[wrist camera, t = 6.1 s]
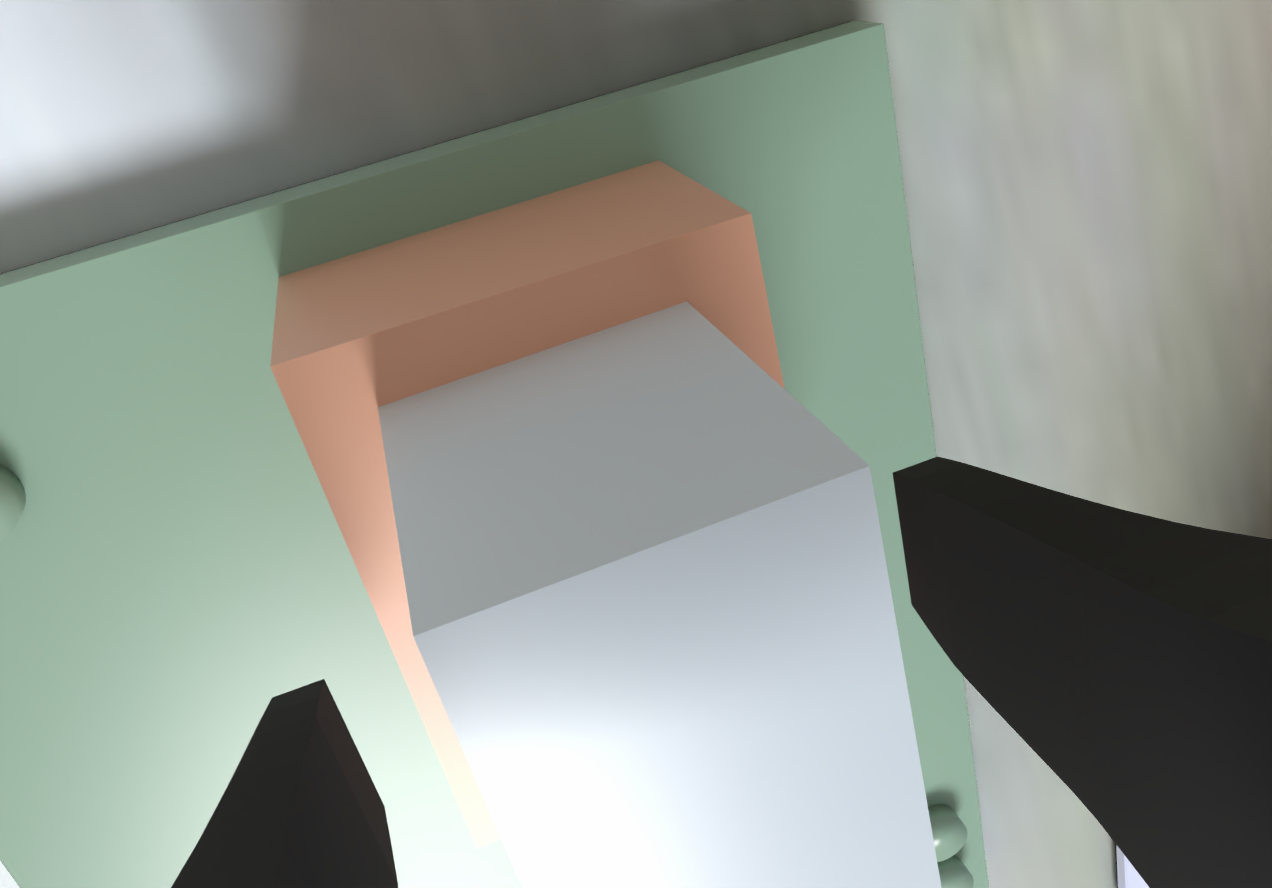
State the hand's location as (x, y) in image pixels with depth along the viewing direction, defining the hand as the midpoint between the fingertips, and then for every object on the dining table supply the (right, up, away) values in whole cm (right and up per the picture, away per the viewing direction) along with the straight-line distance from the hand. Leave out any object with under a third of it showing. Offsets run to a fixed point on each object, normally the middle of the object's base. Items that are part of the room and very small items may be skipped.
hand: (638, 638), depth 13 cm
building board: (-3, -2, +8) cm, 9 cm away
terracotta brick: (-2, +3, +6) cm, 7 cm away
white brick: (0, +1, +2) cm, 2 cm away
